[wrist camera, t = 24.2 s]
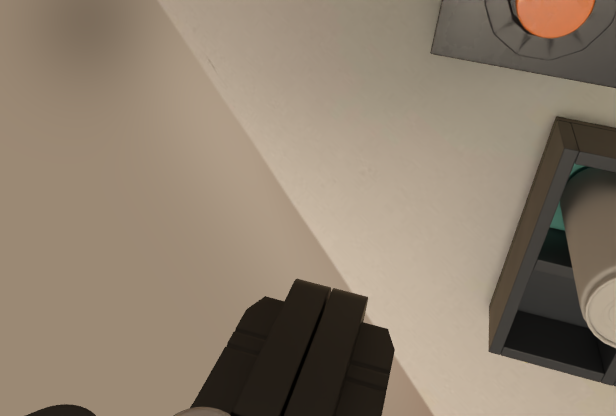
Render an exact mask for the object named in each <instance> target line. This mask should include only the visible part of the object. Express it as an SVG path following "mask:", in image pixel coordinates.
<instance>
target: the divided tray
mask: <svg viewBox="0 0 616 416" xmlns="http://www.w3.org/2000/svg"><path fill="white" fill-rule="evenodd" d="M587 168H597V169H601V170H606V171H611V172H616V128H611V127H606V126H601V125H596V124H591V123H586V122H581V121H576V120H571V119H565V118H560V117H556V119H555V122H554V125H553V128H552V130H551V133H550V136H549V139H548V142H547V145H546V147H545V150H544V153H543V156H542V159H541V162H540V164H539V167H538V170H537V173H536V176H535V179H534V181H533V184H532V187H531V190H530V193H529V196H528V198H527V201H526V204H525V207H524V210H523V213H522V215H521V218H520V221H519V224H518V227H517V230H516V232H515V235H514V238H513V241H512V244H511V247H510V249H509V252H508V255H507V258H506V261H505V264H504V266H503V269H502V272H501V275H500V278H499V281H498V283H497V286H496V289H495V292H494V295H493V298H492V300H491V303H490V306H489V352H491V353H495V354H498V355H500V354H501V355H502V356H506V357H509V358H513V359H517V360H520V361H524V362H528V363H531V364H535V365H539V366H542V367H546V368H549V369H553V370H557V371H560V372H564V373H568V374H571V375H575V376H579V377H582V378H586V379H590V380H593V381H597V382H601V383H604V384H608V385H612V386H613V385H614V386H616V348H614V347H612V346H610V345H608V344H605V343H603V342H602V341H601V340H600V339H598V338H597V337H596V336H595V335H594V334H593V333H592V331H591V330H590V328H589V327H588V325H587V322H586V321H585V320H584V318H583V315H582V312H581V308H580V304H579V299H578V294H577V289H576V284H575V279H574V274H573V268H572V263H571V258H570V253H569V248H568V243H567V238H566V233H565V227H564V222H563V217H562V212H561V207H560V199H561V197H562V194H563V191H564V189H565V186H566V184H567V183H568V181H569V180H570V179H571V178H572V177H574V176H575V175H576V174H577V173H579V172H581V171H583V170H585V169H587Z"/></svg>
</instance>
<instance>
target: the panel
mask: <svg viewBox="0 0 616 416" xmlns="http://www.w3.org/2000/svg"><path fill="white" fill-rule="evenodd" d="M431 54H435V55H440V56H446V57H451V58H457V59H462V60H467V61H473V62H478V63H483V64H489V65H494V66H500V67H505V68H510V69H516V70H521V71H527V72H532V73H537V74H543V75H548V76H554V77H559V78H564V79H570V80H575V81H580V82H586V83H591V84H597V85H602V86H607V87H613V88H616V0H595V3H594V7H593V9H592V12H591V14H590V15H589V17H588V18H587V20H586V21H585V22H584V23H583V24H582V25H581V26H580V27H579V28H578V29H577V30H575V31H574V32H572V33H570V34H568V35H565V36H563V37H559V38H542V37H538V36H536V35H533V34H532V33H530V32H529V31H527V30H526V29H525V28H524V27H523V25H522V24H521V22H520V20H519V18H518V15H517V11H516V4H515V0H442V3H441V8H440V12H439V17H438V21H437V26H436V30H435V35H434V39H433V44H432V49H431Z"/></svg>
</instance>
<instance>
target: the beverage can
mask: <svg viewBox="0 0 616 416" xmlns="http://www.w3.org/2000/svg"><path fill="white" fill-rule="evenodd" d="M560 207H561V212H562V217H563V222H564V227H565V233H566V238H567V243H568V248H569V253H570V258H571V263H572V268H573V274H574V279H575V284H576V289H577V294H578V299H579V304H580V308H581V312H582V315H583V318H584V320H585V321H586V322H587V325H588V327H589V328H590V330H591V331H592V333H593V334H594V335H595V336H596V337H597V338H598V339H600V340H601V341H602V342H603V343H605V344H608V345H610V346H612V347H614V348H616V172H611V171H606V170H601V169H597V168H587V169H585V170H583V171H581V172H579V173H577V174H576V175H575V176H574V177H572V178H571V179H570V180H569V181H568V183H567V184H566V186H565V189H564V191H563V194H562V197H561V199H560Z"/></svg>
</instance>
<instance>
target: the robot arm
mask: <svg viewBox="0 0 616 416" xmlns="http://www.w3.org/2000/svg"><path fill="white" fill-rule="evenodd" d="M367 301H368V297H366V296H362V295H358V294H354V293H350V292H346V291H343V290H339V289H335V288H333V290H332V292H331V288H330V287H327V286H323V285H319V284H315V283H311V282H307V281H303V280H300V279H296V280H295V281H294V283H293V285H292V287H291V289H290V291H289V294H288V296H287V297H286V300H285V302H284V301H281V300H277V299H273V298H269V297H266V296H265V297H264V298H262V299H261V300H259V301H258V302H257V303H255V304H254V305H252V306H251V307H249V308H248V309H247V310H246V311H245V313H244V315H243V317H242V318H241V320H240V322H239V324H238V326H237V327H236V330H235V332H233V334H232V336H231V338H230V340H229V341H228V344H227V347H225V348H224V350H223V352H222V354H221V356H220V357H219V359H218V361H217V362H216V364H215V366H214V368H213V370H212V371H211V373H210V375H209V377H208V378H207V380H206V382H205V384H204V385H203V387H202V389H201V390H200V392H199V394H198V396H197V398H196V399H195V401H194V403H193V404H192V406H191V407H190V409H187V410H184V411H181V412H179V413H177V414H175V415H174V416H381V415H382V410H383V405H384V400H385V395H386V390H387V385H388V380H389V375H390V370H391V365H392V360H393V355H394V347H393V344H392V341H391V337H390V334H389V331H388V329H386V328H382V327H378V326H374V325H370V324H367V323H363V320H364V316H365V311H366V306H367ZM26 416H96V415H95V414H94V413H92V412H91V411H89V410H88V409H86V408H83V407H81V406H76V405H56V406H50V407H47V408H44V409H41V410H38V411H36V412H34V413H31V414H28V415H26Z"/></svg>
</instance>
